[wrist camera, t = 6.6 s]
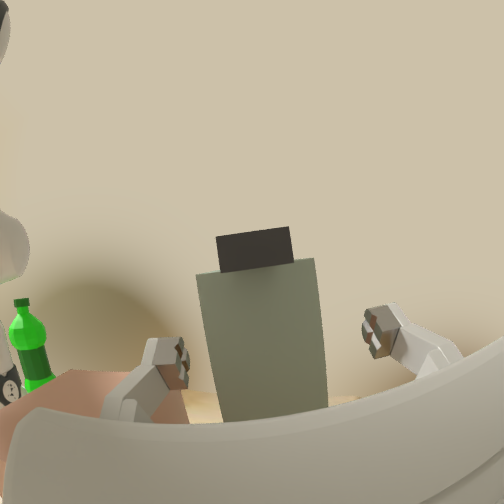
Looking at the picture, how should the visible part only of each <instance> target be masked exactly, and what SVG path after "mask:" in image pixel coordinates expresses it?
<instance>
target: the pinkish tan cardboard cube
mask: <svg viewBox="0 0 504 504" xmlns="http://www.w3.org/2000/svg"><path fill="white" fill-rule="evenodd" d="M130 373H131V372H106V371H85V370H72V369H71V370H69V371H67V372H65V373H63V374H61V375H60V376H58V377H56V378H54V379H53V380H51V381H49V382H47V383H46V384H44V385H42V386H40V387H39V388H37V389H35V390H33V391H32V392H30V393H28V394H26V395H25V396H23V397H21V398H19V399H17V400H16V401H14V402H12V403H10V404H8V405H7V406H5V407H3V408H1V409H0V496H1V497H2V498H3V484H4V475H5V468H6V462H7V457H8V452H9V447H10V444H11V440H12V436H13V433H14V430H15V427H16V425H17V423H18V422H19V421H20V420H21V419H22V418H23V417H24V416H26V415H27V414H28V413H29V412H30V411H32V410H33V409H35V408H36V407H43V408H48V409H52V410H56V411H61V412H66V413H71V414H76V415H81V416H87V417H94V418H99V417H100V414H101V410H102V406H103V403H104V399H105V396H106V395H107V394H108V393H110V392H111V391H112V390H113V389H114V388H115V387H116V386H117V385H118V384H119V383H120V382H121V381H122V380H123V379H124V378H125V377H126V376H127V375H128V374H130ZM150 419H151V420H152V421H153V422H154V423H157V424H190V423H189V419H188V416H187V412H186V409H185V405H184V402H183V398H182V394H181V390H170V392H169V393H168V394H167V396H166V397H165V398H164V400H163V401H162V402H161V404H160V405H159V407H158V408H157V409H156V411H155V412H154V413H153V415H152V416H151V417H150Z"/></svg>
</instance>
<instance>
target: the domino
mask: <svg viewBox="0 0 504 504" xmlns="http://www.w3.org/2000/svg"><path fill="white" fill-rule="evenodd" d="M216 243H217V250H218V258H219V265H220V272H221V273H228V272H235V271H242V270H249V269H256V268H263V267H270V266H277V265H283V264H290V263H294V258H293V251H292V244H291V238H290V231H289V227H281V228H273V229H267V230H259V231H252V232H244V233H238V234H231V235H224V236H217V237H216Z"/></svg>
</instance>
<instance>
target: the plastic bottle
mask: <svg viewBox="0 0 504 504" xmlns="http://www.w3.org/2000/svg"><path fill="white" fill-rule="evenodd" d="M14 306H15V307H17V312H18V315H17V316H16V318H15V319H14V321H13V322H12V324H11V326H10V328H9V338H10V341H11V343H12V345H13V346H14V347H15V348H16V349H17V351H18V355H19V359H20V362H21V365H22V369H23V372H24V375H25V389H26V391H27V393H30V392H32V391H33V390H35V389H37V388H39V387H40V386H42V385H44V384H46V383H47V382H49V381H51V380H53V379H54V378H56V376H55V375H54V374H53V373H52V372H51V368H50V365H49V361H48V358H47V354H46V350H45V346H44V343H45V341H46V331H45V327H44V325H43V324H42V322H41V321H39V320H38V319H37V318H36V317H34V316H33V315H32V314H30V313H29V310H28V306H30V304H29V298H22V299H15V300H14Z"/></svg>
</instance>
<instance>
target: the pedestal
mask: <svg viewBox="0 0 504 504" xmlns="http://www.w3.org/2000/svg"><path fill="white" fill-rule="evenodd" d="M196 280H197V287H198V293H199V300H200V306H201V312H202V318H203V324H204V330H205V335H206V341H207V346H208V352H209V357H210V362H211V367H212V372H213V377H214V382H215V386H216V391H217V396H218V400H219V405H220V409H221V413H222V418H223V422H224V423H225V422H238V421H248V420H257V419H265V418H273V417H279V416H286V415H292V414H297V413H303V412H308V411H313V410H318V409H322V408H327V407H328V392H327V376H326V363H325V351H324V340H323V330H322V319H321V310H320V302H319V293H318V285H317V277H316V270H315V263H314V258H307V259H298V260H297V259H296V260H294V263H290V264H283V265H277V266H270V267H263V268H256V269H249V270H242V271H235V272H228V273H221V272H220V270H217V271H212V272H207V273H203V274H198V275H196Z"/></svg>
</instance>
